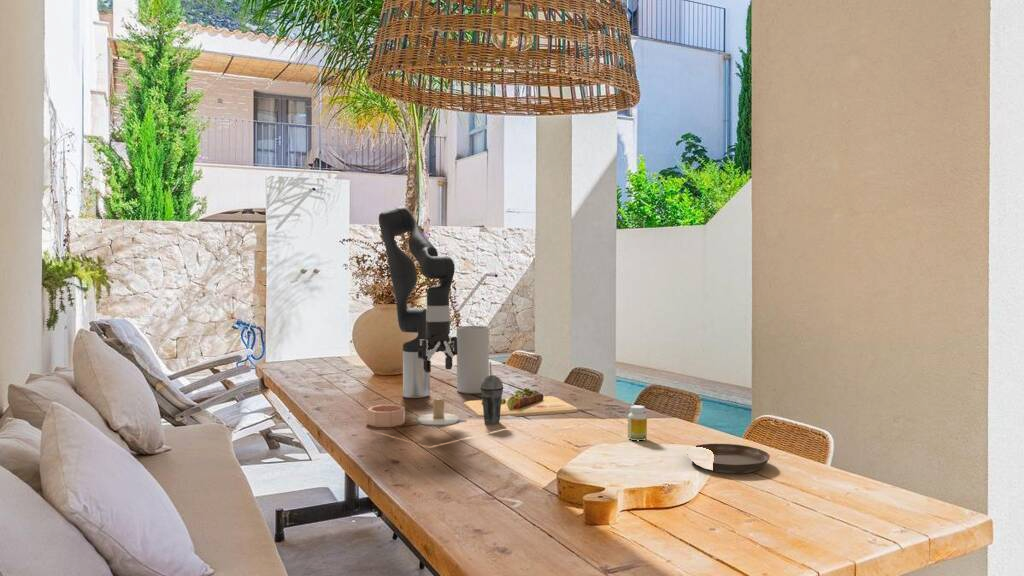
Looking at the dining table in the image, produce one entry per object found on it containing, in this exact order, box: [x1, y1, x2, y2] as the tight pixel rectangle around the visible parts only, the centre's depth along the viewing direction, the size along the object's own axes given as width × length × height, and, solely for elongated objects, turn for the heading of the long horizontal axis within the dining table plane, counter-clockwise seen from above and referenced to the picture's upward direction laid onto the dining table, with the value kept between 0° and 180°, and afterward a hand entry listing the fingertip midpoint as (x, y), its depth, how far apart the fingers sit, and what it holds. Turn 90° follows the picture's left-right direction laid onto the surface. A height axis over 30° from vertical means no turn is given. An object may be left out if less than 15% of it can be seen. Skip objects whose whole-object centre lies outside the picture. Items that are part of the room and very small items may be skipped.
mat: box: [410, 418, 467, 429], centre depth 234 cm, size 13×13×1 cm
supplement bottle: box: [627, 404, 648, 441], centre depth 213 cm, size 5×5×10 cm
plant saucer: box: [695, 443, 771, 475], centre depth 188 cm, size 21×21×3 cm
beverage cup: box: [480, 361, 504, 426], centre depth 231 cm, size 7×7×20 cm
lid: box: [417, 397, 460, 426], centre depth 234 cm, size 13×13×7 cm
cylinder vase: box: [456, 325, 490, 395], centre depth 287 cm, size 12×12×25 cm
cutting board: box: [463, 387, 579, 418], centre depth 256 cm, size 35×23×8 cm
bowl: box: [366, 404, 406, 428], centre depth 231 cm, size 11×11×5 cm
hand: (438, 370), depth 233 cm, fingers open, 8 cm apart
